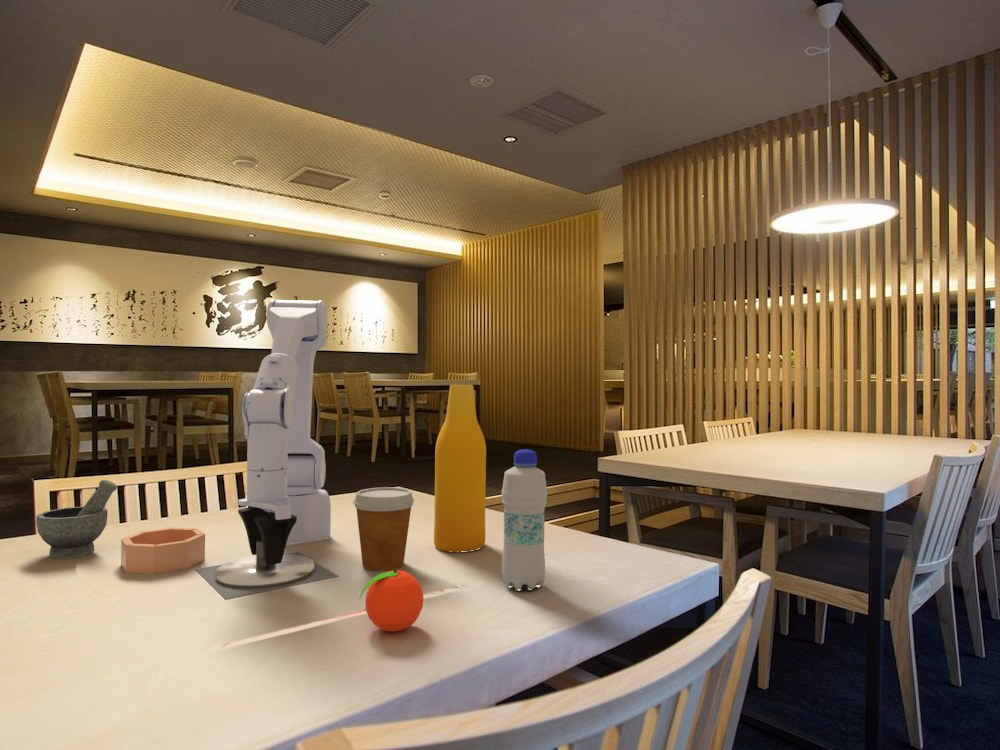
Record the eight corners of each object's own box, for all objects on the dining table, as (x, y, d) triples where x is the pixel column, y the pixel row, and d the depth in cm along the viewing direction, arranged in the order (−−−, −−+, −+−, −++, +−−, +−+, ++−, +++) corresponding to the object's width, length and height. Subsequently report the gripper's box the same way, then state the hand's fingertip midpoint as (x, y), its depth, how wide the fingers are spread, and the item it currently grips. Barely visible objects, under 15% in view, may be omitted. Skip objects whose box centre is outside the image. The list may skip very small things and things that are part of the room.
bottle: (551, 582, 92) (553, 448, 92) (539, 597, 86) (541, 453, 86) (508, 576, 94) (510, 445, 95) (493, 591, 88) (495, 450, 88)
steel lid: (294, 554, 103) (294, 525, 103) (329, 575, 92) (329, 543, 92) (203, 569, 94) (204, 538, 94) (231, 595, 84) (231, 559, 84)
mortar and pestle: (30, 564, 97) (32, 488, 97) (40, 549, 105) (41, 479, 106) (114, 555, 103) (115, 483, 103) (117, 542, 111) (118, 475, 111)
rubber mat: (297, 554, 105) (297, 551, 105) (338, 579, 92) (338, 575, 92) (195, 572, 95) (195, 569, 95) (225, 602, 82) (225, 599, 82)
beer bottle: (472, 556, 105) (474, 385, 105) (424, 549, 109) (426, 384, 109) (493, 542, 114) (495, 385, 114) (448, 537, 117) (450, 384, 117)
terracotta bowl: (192, 551, 106) (193, 524, 106) (210, 567, 97) (210, 538, 97) (117, 562, 99) (118, 534, 99) (129, 580, 90) (129, 550, 90)
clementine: (371, 649, 69) (372, 585, 69) (347, 628, 75) (347, 569, 75) (433, 632, 74) (434, 572, 74) (406, 614, 79) (407, 558, 79)
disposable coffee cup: (424, 563, 100) (425, 490, 100) (390, 581, 92) (391, 500, 92) (376, 556, 104) (377, 485, 104) (339, 571, 96) (340, 494, 96)
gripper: (225, 464, 97) (224, 552, 96) (256, 477, 85) (254, 575, 85) (271, 461, 101) (270, 544, 101) (305, 472, 90) (304, 566, 90)
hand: (266, 558), depth 93 cm, fingers open, 6 cm apart
